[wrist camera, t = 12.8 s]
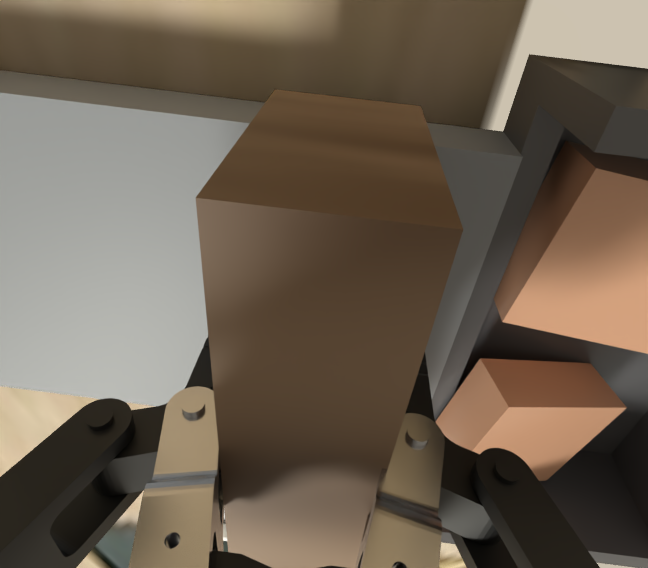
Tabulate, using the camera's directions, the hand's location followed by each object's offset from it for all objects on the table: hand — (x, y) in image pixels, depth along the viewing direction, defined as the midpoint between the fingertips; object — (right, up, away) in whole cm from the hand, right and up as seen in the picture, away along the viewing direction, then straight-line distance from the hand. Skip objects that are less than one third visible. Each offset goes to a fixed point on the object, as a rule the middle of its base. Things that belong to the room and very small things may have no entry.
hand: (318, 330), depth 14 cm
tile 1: (+9, +3, 0) cm, 9 cm away
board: (-4, +2, +2) cm, 5 cm away
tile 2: (+7, -3, +4) cm, 9 cm away
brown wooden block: (0, 0, +1) cm, 1 cm away
